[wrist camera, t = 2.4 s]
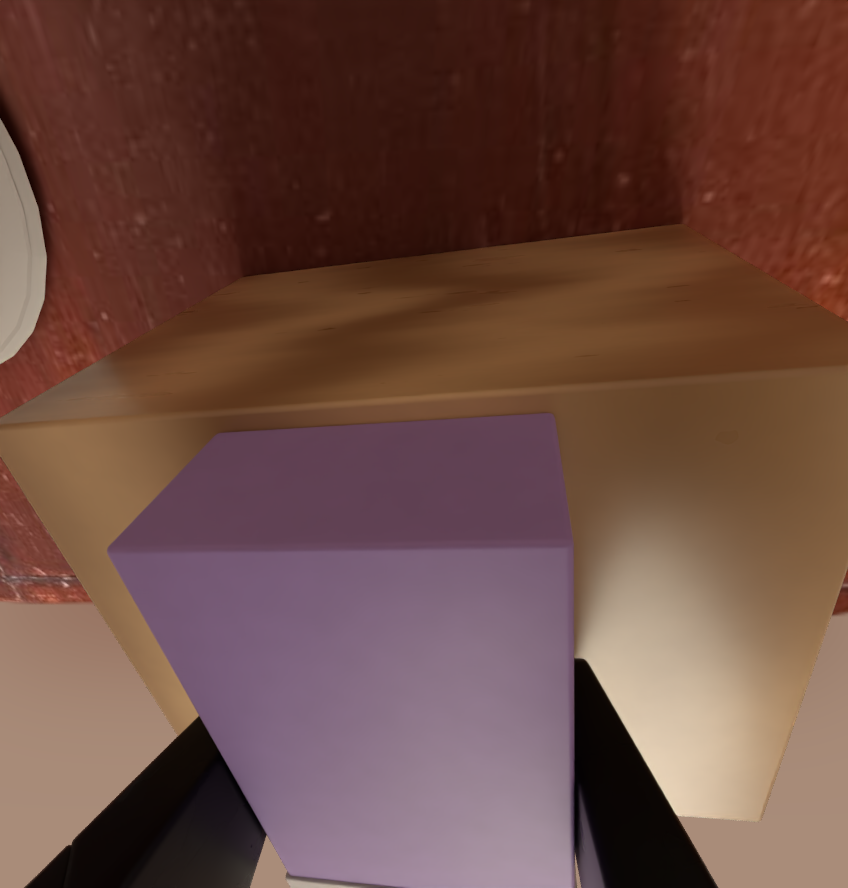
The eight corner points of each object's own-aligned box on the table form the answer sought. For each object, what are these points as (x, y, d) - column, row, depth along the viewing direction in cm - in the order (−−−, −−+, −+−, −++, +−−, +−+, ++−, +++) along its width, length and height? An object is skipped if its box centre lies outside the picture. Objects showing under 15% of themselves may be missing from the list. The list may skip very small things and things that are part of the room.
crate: (684, 222, 13) (922, 361, 6) (655, 525, 18) (762, 824, 10) (240, 276, 15) (-22, 427, 8) (319, 532, 20) (204, 781, 13)
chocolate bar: (558, 408, 6) (581, 546, 4) (565, 802, 11) (579, 967, 9) (214, 429, 7) (93, 553, 5) (350, 785, 12) (314, 932, 10)
